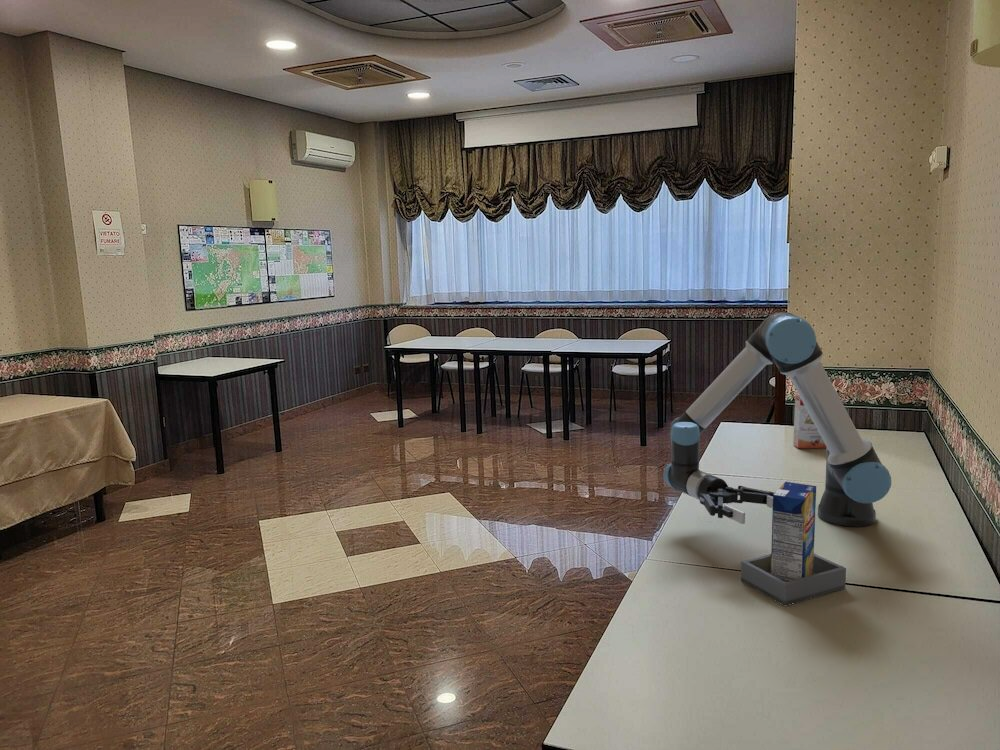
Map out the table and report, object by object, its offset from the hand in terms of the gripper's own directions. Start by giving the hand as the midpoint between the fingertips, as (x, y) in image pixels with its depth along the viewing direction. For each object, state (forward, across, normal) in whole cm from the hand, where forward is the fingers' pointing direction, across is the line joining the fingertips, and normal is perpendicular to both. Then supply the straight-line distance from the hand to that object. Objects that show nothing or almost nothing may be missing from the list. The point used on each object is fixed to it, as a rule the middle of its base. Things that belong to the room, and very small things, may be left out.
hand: (766, 513), depth 179 cm
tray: (+9, 0, -14) cm, 17 cm away
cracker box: (-74, -94, -15) cm, 121 cm away
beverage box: (+9, 0, -14) cm, 16 cm away
